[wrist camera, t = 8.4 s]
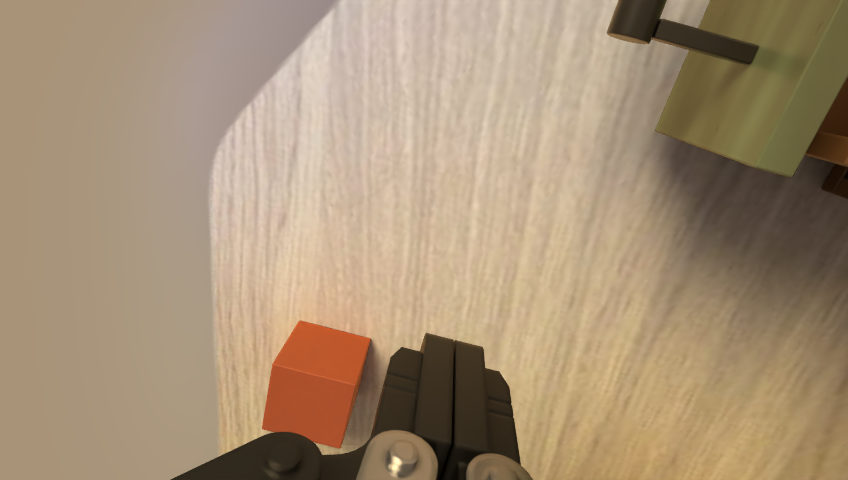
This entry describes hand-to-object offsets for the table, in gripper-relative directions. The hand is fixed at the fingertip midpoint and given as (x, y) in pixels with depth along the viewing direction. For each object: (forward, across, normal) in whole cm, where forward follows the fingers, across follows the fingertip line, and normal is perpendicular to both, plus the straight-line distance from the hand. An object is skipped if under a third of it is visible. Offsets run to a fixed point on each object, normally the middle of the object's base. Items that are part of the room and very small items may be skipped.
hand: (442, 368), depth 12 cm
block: (+13, +5, +10) cm, 17 cm away
